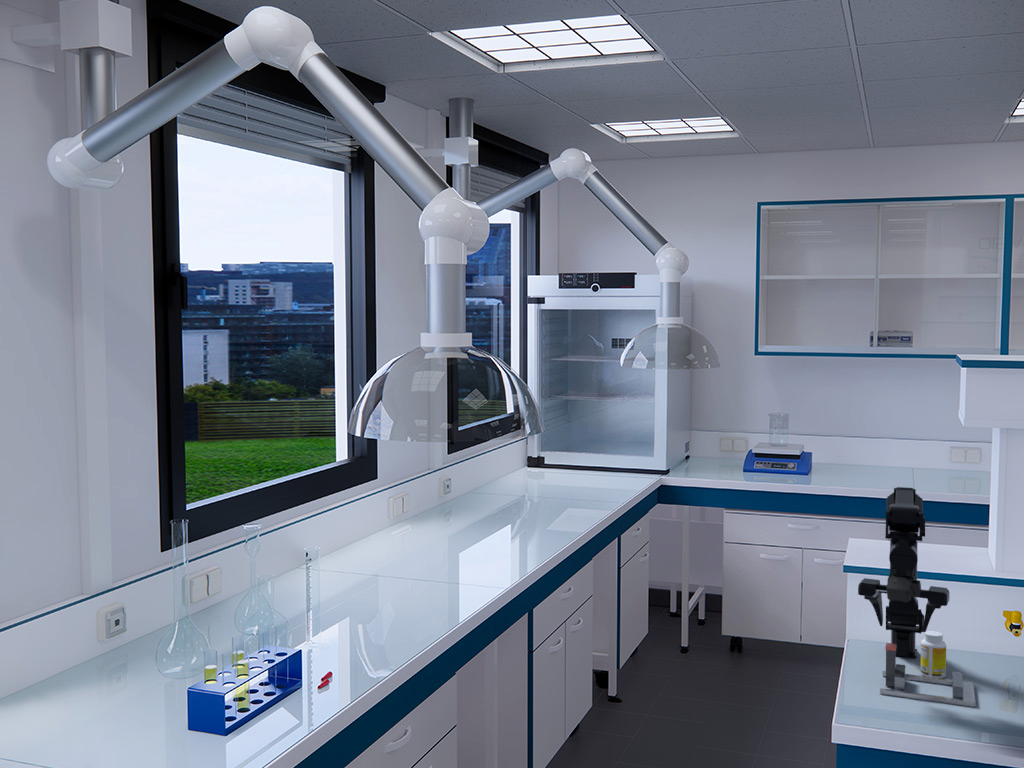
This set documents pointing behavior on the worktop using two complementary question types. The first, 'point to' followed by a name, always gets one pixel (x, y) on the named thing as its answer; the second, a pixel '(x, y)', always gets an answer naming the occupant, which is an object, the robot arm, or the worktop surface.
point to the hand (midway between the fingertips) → (902, 628)
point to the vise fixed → (960, 691)
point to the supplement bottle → (933, 655)
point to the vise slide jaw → (894, 669)
